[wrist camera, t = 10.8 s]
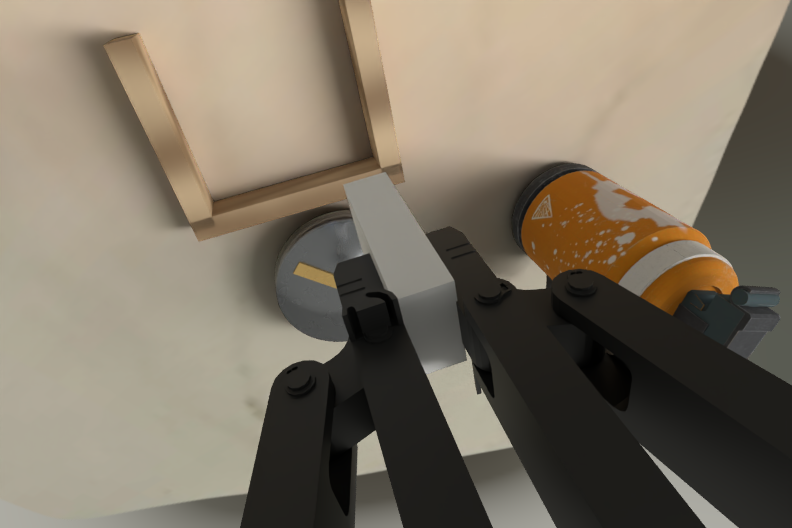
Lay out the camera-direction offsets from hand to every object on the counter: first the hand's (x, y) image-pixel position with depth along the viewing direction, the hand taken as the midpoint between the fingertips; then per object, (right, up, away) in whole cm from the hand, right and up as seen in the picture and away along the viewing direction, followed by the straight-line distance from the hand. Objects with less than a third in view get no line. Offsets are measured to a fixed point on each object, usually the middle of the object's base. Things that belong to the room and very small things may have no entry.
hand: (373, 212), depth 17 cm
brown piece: (-8, +9, +15) cm, 19 cm away
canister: (+15, +2, +27) cm, 31 cm away
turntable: (-2, -3, +23) cm, 23 cm away
